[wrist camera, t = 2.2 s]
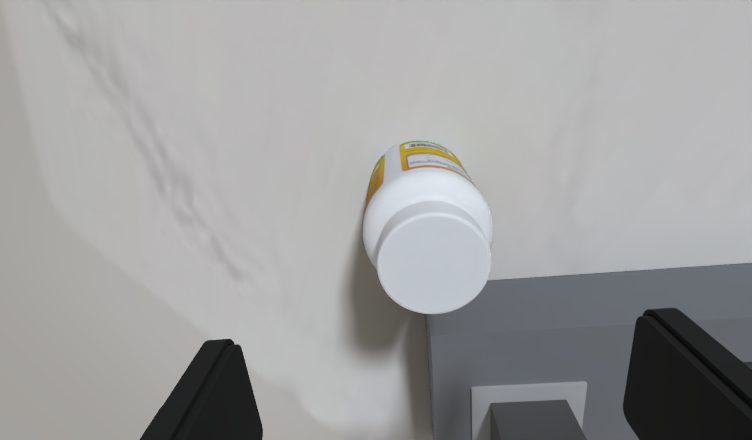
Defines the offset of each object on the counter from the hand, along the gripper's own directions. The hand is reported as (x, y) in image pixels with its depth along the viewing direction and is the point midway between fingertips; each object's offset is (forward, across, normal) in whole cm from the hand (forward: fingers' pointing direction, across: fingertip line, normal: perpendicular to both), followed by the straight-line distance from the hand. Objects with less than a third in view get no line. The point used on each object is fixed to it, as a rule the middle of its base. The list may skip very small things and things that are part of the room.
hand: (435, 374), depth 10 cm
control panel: (+14, -13, +12) cm, 23 cm away
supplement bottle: (+15, -1, 0) cm, 15 cm away
